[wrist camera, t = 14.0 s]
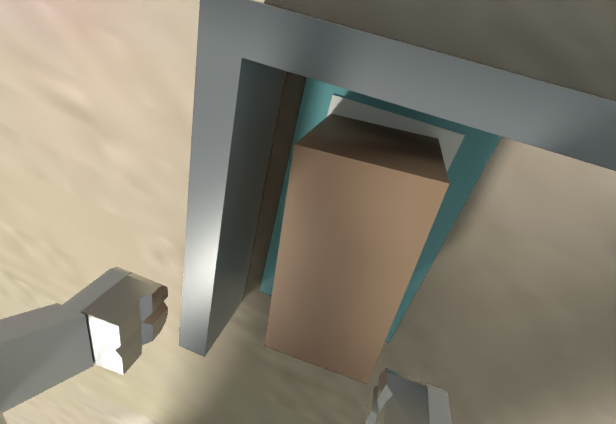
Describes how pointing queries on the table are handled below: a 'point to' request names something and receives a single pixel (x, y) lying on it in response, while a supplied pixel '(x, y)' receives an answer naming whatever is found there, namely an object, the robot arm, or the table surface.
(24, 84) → the table surface
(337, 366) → the walnut block
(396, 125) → the corner bracket
